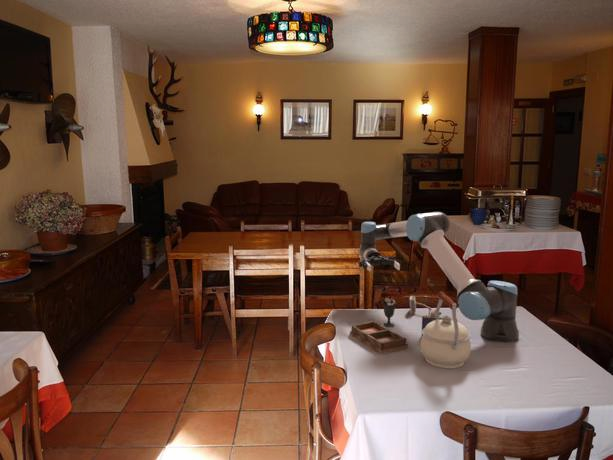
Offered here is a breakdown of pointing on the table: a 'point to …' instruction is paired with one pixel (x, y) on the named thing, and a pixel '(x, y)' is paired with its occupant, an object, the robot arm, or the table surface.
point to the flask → (428, 320)
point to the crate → (378, 337)
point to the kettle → (445, 339)
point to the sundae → (389, 309)
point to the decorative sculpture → (414, 303)
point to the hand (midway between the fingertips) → (384, 267)
